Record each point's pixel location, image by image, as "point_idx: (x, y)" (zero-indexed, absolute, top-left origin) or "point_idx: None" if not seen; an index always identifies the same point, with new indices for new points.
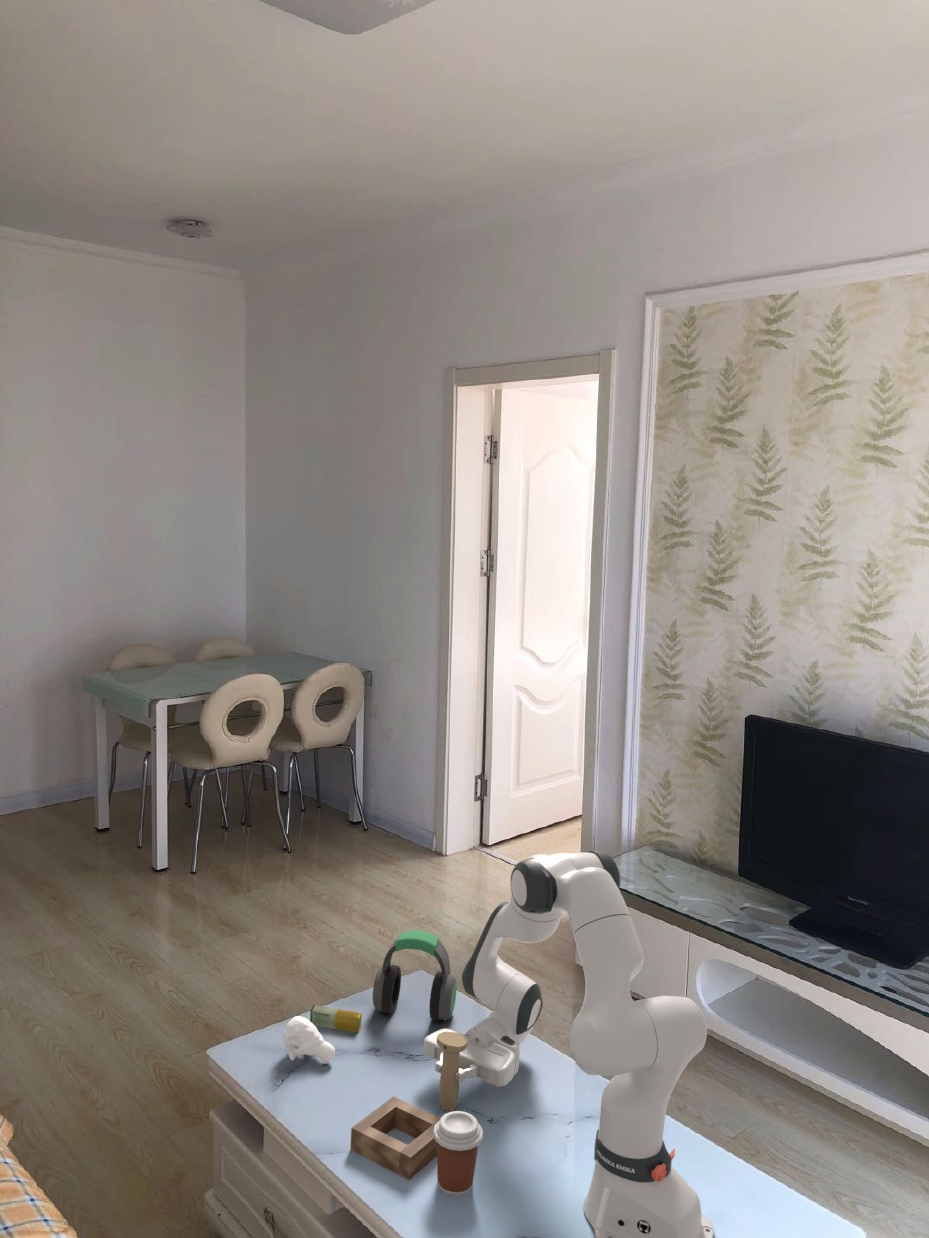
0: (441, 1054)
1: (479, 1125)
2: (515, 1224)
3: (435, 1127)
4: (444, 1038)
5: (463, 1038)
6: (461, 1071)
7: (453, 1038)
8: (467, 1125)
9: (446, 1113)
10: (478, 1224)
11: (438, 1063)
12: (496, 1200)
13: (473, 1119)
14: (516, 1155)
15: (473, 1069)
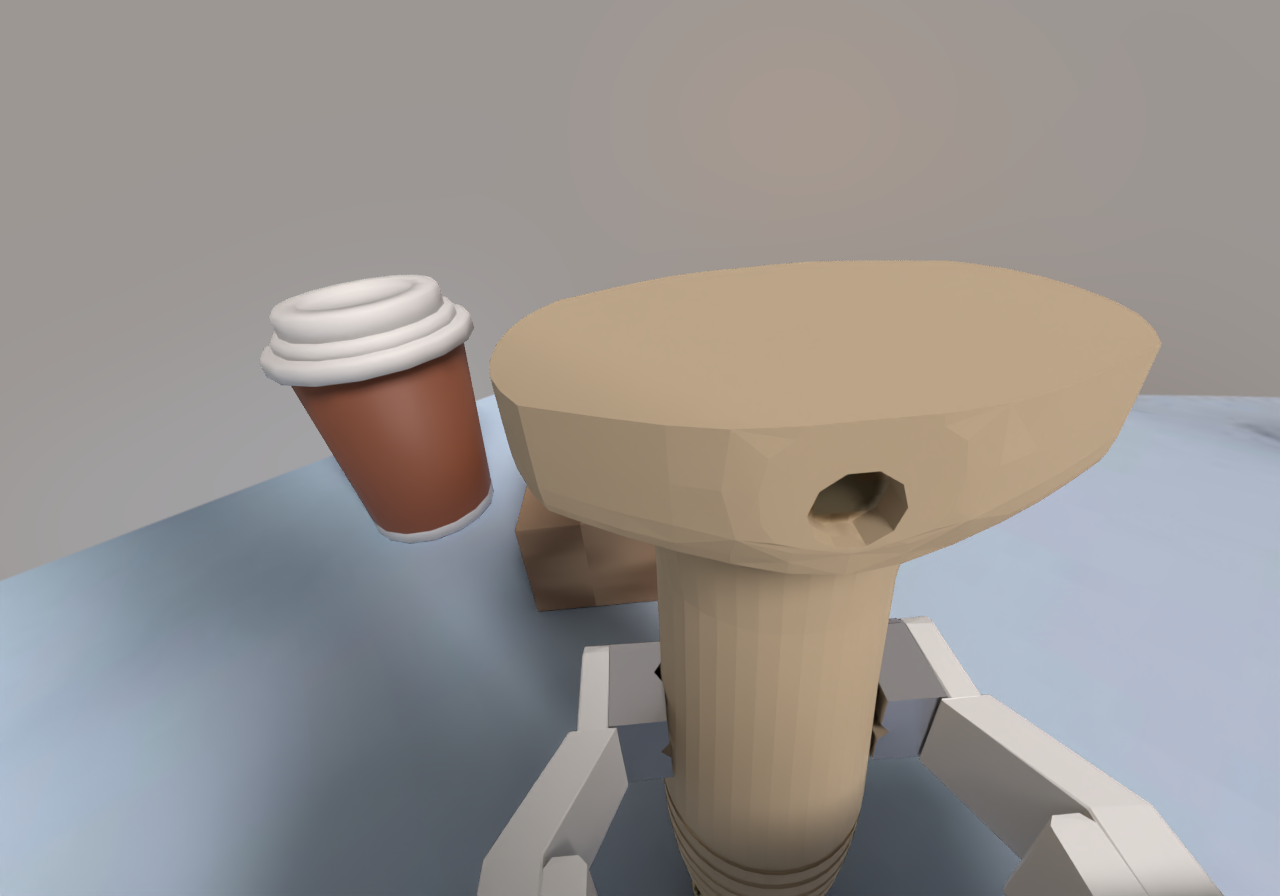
0: (1121, 800)
1: (278, 363)
2: (220, 504)
3: (460, 309)
4: (872, 291)
5: (639, 403)
6: (613, 681)
7: (785, 334)
8: (319, 307)
9: (422, 291)
10: (332, 461)
11: (908, 631)
12: (285, 528)
13: (292, 312)
14: (176, 767)
15: (504, 836)
